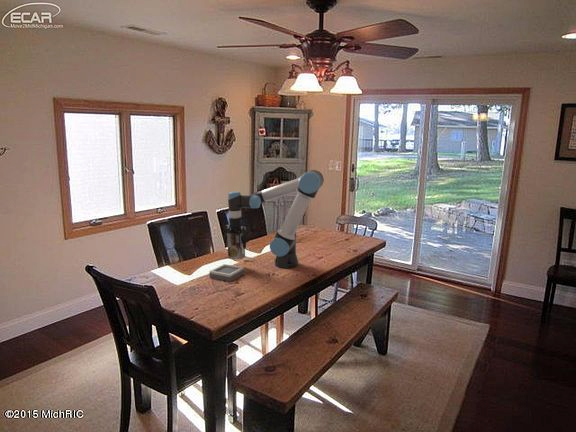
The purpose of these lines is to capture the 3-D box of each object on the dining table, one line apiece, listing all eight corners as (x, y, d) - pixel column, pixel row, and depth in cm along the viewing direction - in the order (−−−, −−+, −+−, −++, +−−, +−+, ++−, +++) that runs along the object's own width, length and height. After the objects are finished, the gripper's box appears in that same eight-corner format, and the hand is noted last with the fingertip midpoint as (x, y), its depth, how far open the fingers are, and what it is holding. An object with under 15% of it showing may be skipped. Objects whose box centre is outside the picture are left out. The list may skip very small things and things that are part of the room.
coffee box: (245, 256, 258) (244, 231, 255) (241, 259, 252) (240, 233, 249) (232, 255, 261) (231, 230, 258) (227, 258, 255) (226, 232, 252)
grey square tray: (244, 273, 247) (244, 267, 246) (230, 281, 233) (229, 275, 233) (224, 269, 252) (224, 263, 252) (209, 277, 239) (209, 271, 238)
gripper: (253, 217, 251) (255, 253, 255) (223, 214, 260) (225, 249, 264) (247, 219, 244) (248, 256, 248) (216, 216, 253) (218, 252, 258)
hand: (236, 252), depth 256 cm, fingers closed on coffee box, 9 cm apart
